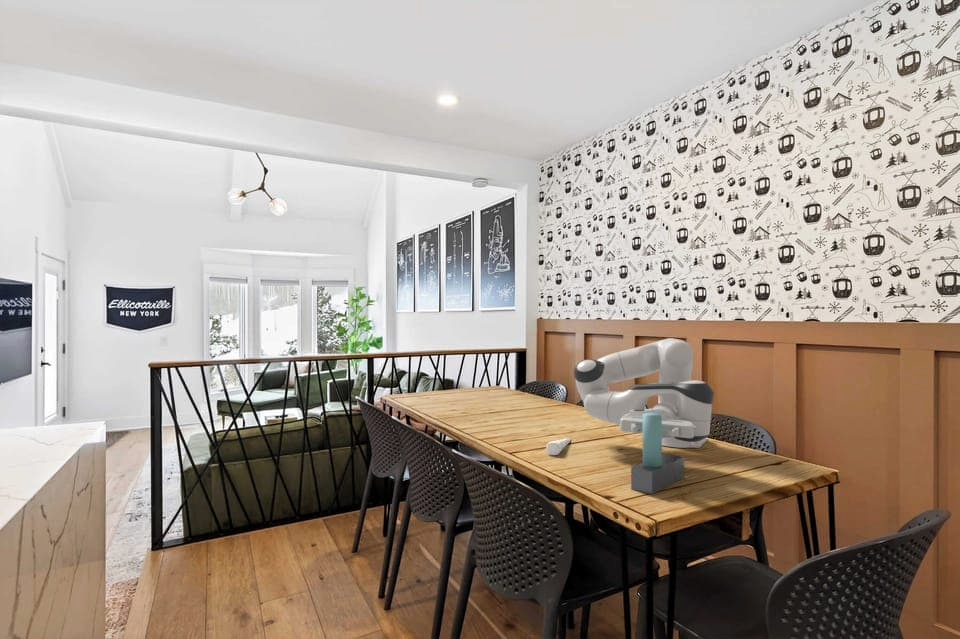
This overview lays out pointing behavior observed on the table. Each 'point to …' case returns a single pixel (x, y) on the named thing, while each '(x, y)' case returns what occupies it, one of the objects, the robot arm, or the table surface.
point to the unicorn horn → (556, 446)
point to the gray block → (657, 474)
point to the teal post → (652, 440)
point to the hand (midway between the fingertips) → (652, 432)
